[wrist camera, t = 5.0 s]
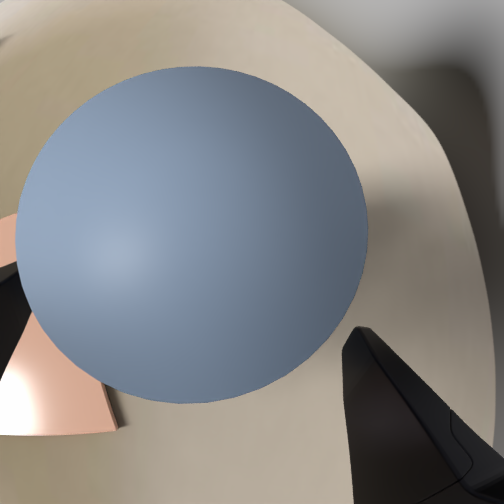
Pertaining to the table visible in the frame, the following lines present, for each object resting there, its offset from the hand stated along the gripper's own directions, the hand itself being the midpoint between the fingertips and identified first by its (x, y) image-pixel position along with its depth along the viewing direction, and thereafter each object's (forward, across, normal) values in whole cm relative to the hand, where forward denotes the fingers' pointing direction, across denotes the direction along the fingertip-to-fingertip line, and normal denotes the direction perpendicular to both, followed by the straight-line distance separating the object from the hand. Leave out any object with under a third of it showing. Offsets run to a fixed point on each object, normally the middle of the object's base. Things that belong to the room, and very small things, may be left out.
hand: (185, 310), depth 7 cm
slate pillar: (+7, 0, +6) cm, 9 cm away
